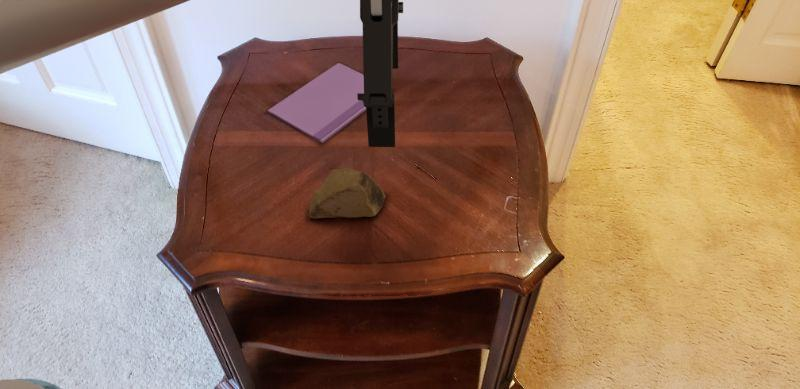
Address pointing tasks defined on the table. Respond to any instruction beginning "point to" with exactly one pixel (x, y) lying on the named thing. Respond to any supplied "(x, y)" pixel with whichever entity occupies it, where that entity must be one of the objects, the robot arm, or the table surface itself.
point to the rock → (347, 196)
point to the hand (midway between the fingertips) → (384, 103)
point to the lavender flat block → (324, 103)
